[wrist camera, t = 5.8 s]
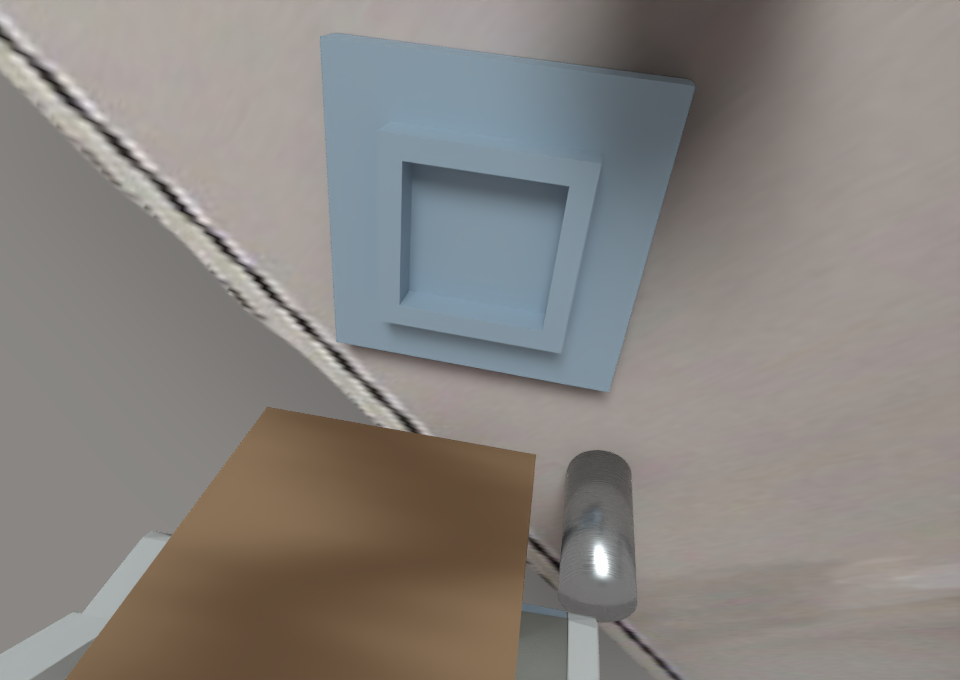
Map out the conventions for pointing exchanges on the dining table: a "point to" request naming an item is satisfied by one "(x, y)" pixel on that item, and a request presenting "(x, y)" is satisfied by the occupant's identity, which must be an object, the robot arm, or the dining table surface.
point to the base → (493, 203)
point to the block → (334, 563)
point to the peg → (598, 539)
